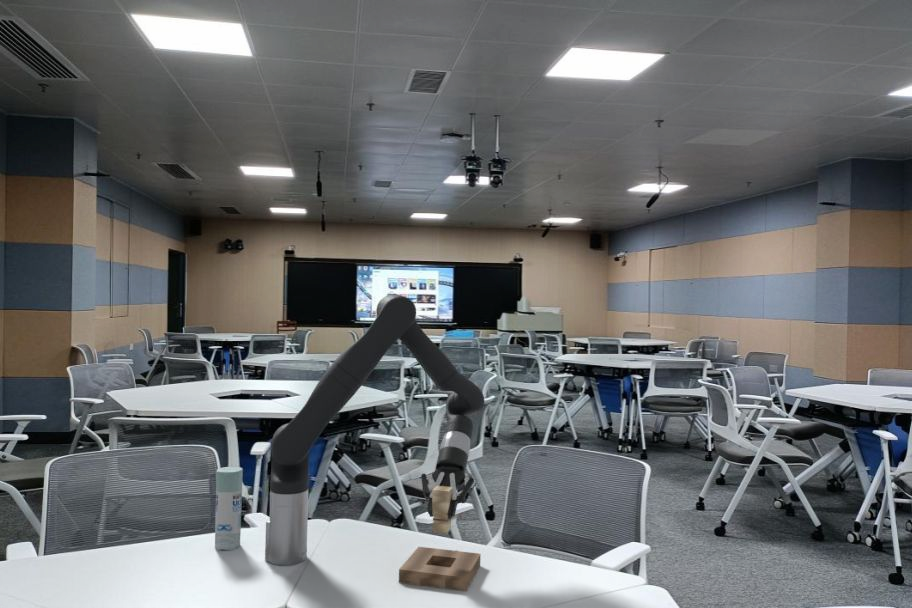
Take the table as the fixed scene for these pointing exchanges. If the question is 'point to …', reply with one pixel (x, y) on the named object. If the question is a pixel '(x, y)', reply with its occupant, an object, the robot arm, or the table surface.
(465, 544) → the table surface
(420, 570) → the walnut board
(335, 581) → the table surface
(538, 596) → the table surface
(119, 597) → the table surface
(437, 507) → the oak peg
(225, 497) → the spray paint can
